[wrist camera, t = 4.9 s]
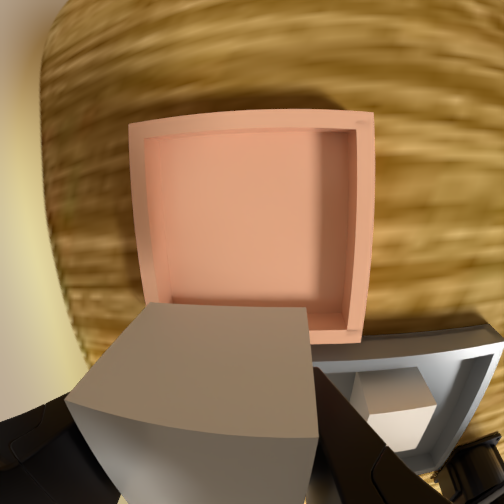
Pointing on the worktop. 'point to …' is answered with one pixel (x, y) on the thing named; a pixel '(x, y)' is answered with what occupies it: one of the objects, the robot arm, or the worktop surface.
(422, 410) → the beige cube
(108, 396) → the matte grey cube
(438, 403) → the bin
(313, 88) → the worktop surface
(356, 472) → the robot arm
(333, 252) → the dish
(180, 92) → the worktop surface
